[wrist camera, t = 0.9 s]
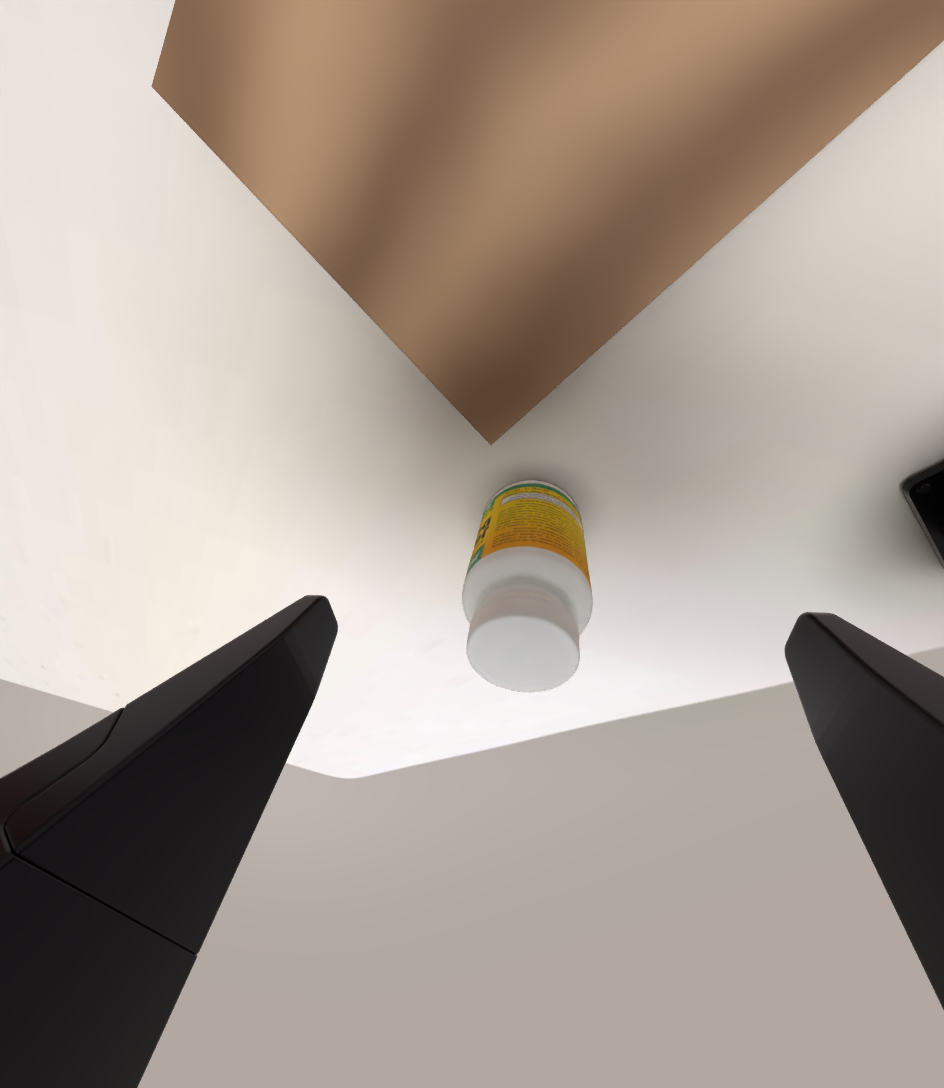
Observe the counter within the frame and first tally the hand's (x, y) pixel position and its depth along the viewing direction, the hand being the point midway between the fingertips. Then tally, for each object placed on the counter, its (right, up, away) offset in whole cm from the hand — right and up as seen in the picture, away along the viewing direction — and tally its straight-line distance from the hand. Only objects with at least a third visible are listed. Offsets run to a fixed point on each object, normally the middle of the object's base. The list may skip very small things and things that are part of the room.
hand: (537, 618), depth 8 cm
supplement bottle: (+2, +3, +14) cm, 15 cm away
